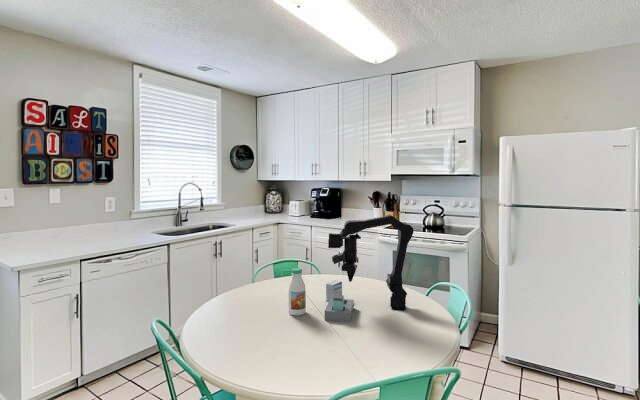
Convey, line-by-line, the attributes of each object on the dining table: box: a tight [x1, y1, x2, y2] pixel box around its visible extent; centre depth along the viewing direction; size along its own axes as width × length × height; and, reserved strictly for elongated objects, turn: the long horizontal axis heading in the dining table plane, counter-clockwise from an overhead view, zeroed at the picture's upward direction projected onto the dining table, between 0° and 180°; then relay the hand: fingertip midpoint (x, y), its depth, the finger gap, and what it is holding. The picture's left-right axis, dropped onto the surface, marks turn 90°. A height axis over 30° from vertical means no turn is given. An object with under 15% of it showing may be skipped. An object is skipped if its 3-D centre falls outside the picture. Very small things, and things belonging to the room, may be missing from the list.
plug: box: [333, 294, 345, 311], centre depth 156 cm, size 4×4×9 cm
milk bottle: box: [287, 267, 307, 317], centre depth 161 cm, size 8×8×20 cm
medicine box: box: [325, 279, 343, 302], centre depth 178 cm, size 8×4×9 cm, turn 143°
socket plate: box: [324, 298, 355, 323], centre depth 160 cm, size 11×16×4 cm
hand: (350, 281), depth 166 cm, fingers closed
